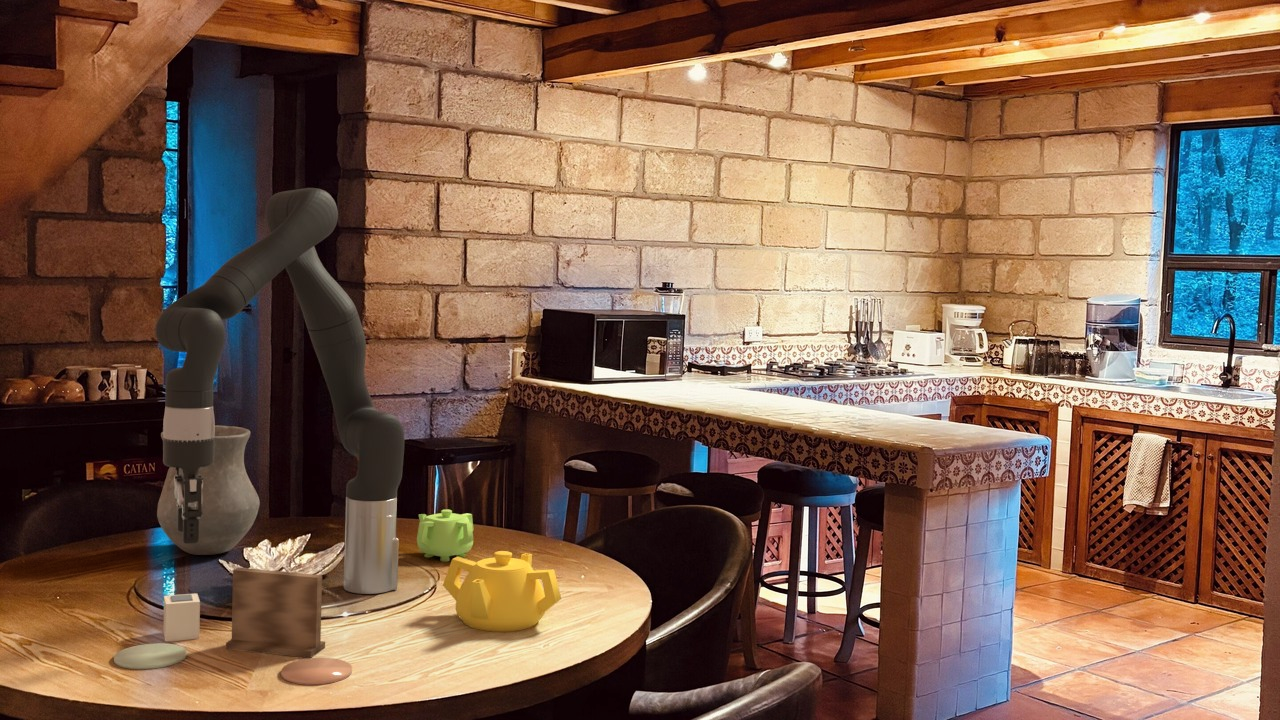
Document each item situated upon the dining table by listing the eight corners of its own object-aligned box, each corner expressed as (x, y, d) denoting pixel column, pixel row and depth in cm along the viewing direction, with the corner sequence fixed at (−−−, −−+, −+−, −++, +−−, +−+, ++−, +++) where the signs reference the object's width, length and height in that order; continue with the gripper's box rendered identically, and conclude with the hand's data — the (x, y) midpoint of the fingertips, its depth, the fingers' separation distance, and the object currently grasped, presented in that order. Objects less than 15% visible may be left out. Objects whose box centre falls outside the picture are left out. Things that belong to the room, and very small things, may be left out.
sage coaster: (183, 644, 183) (183, 640, 183) (188, 665, 174) (188, 661, 174) (113, 650, 179) (113, 647, 179) (114, 672, 170) (114, 668, 170)
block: (196, 629, 191) (197, 592, 190) (199, 638, 186) (200, 600, 186) (163, 632, 189) (163, 594, 188) (165, 641, 184) (165, 602, 184)
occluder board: (225, 648, 182) (227, 572, 181) (242, 639, 187) (243, 564, 186) (310, 657, 180) (312, 580, 179) (325, 647, 184) (326, 572, 184)
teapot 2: (563, 630, 199) (566, 560, 198) (469, 640, 192) (471, 567, 191) (528, 603, 214) (530, 538, 213) (439, 611, 207) (441, 544, 206)
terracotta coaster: (344, 658, 180) (344, 654, 180) (358, 680, 171) (358, 676, 171) (276, 665, 176) (276, 661, 175) (287, 688, 167) (287, 683, 166)
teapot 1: (472, 550, 252) (474, 504, 252) (474, 563, 241) (475, 516, 240) (416, 549, 250) (418, 504, 250) (415, 563, 239) (417, 515, 238)
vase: (237, 565, 231) (240, 439, 229) (141, 561, 231) (142, 434, 229) (270, 542, 251) (273, 426, 249) (181, 538, 251) (183, 422, 249)
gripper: (220, 441, 180) (218, 545, 181) (209, 428, 192) (207, 525, 193) (167, 442, 176) (166, 549, 177) (159, 429, 189) (158, 528, 190)
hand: (187, 536), depth 185 cm, fingers open, 8 cm apart
